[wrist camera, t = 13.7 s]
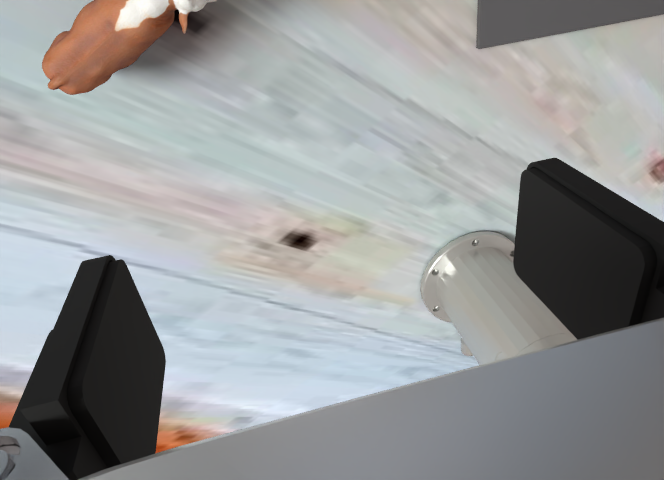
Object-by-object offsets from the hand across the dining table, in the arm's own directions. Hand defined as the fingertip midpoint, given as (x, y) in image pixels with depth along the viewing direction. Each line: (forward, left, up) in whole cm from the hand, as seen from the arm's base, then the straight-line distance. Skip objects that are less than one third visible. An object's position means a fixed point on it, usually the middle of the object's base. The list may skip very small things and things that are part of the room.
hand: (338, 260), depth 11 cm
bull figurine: (+3, +8, -34) cm, 35 cm away
